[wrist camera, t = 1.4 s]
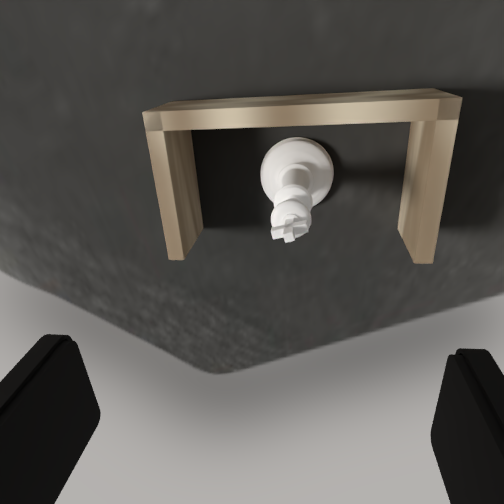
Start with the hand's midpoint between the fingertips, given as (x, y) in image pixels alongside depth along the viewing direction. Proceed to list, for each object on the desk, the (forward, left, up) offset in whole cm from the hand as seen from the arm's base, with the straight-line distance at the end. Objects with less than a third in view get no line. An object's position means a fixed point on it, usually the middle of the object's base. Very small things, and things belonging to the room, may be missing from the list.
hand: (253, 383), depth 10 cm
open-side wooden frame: (0, 0, -19) cm, 19 cm away
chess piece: (0, 0, -19) cm, 19 cm away
